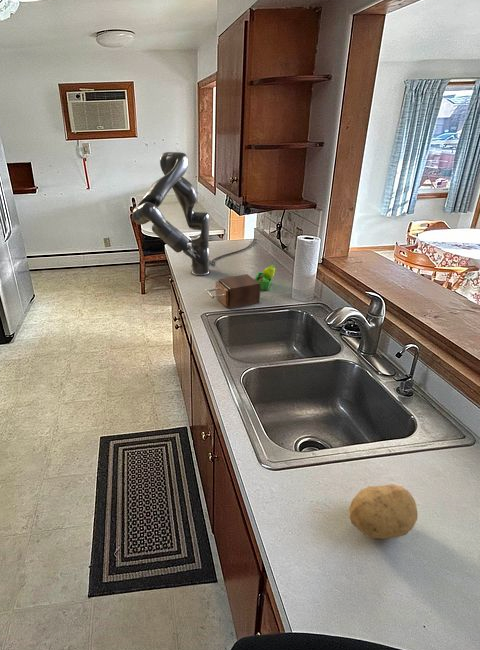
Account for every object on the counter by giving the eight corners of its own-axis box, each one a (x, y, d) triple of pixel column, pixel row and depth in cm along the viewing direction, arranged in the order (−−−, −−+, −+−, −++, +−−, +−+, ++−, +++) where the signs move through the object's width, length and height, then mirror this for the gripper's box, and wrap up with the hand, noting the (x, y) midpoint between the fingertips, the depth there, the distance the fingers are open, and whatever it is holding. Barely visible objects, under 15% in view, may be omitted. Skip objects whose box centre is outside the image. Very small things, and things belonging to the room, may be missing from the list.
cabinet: (229, 308, 172) (230, 288, 168) (218, 297, 183) (218, 278, 179) (259, 303, 176) (260, 283, 172) (246, 292, 187) (247, 274, 183)
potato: (332, 514, 82) (337, 487, 79) (387, 495, 85) (394, 469, 82) (366, 560, 73) (373, 532, 70) (425, 536, 77) (434, 509, 73)
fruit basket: (257, 281, 199) (258, 260, 194) (275, 283, 196) (276, 262, 192) (253, 290, 189) (254, 268, 185) (272, 292, 187) (273, 269, 182)
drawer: (213, 309, 170) (213, 292, 167) (204, 299, 180) (203, 283, 177) (253, 301, 176) (253, 285, 172) (241, 292, 186) (242, 277, 182)
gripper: (185, 235, 152) (214, 261, 160) (175, 228, 164) (203, 252, 172) (173, 250, 153) (203, 274, 161) (164, 241, 165) (192, 265, 173)
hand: (203, 263), depth 167 cm, fingers closed
